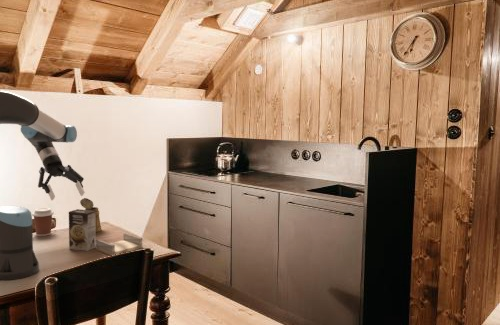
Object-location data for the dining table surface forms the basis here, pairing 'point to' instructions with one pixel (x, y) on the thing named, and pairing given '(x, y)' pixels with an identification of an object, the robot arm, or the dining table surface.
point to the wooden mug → (89, 206)
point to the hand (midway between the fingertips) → (68, 196)
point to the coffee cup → (43, 221)
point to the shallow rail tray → (120, 245)
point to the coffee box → (82, 229)
